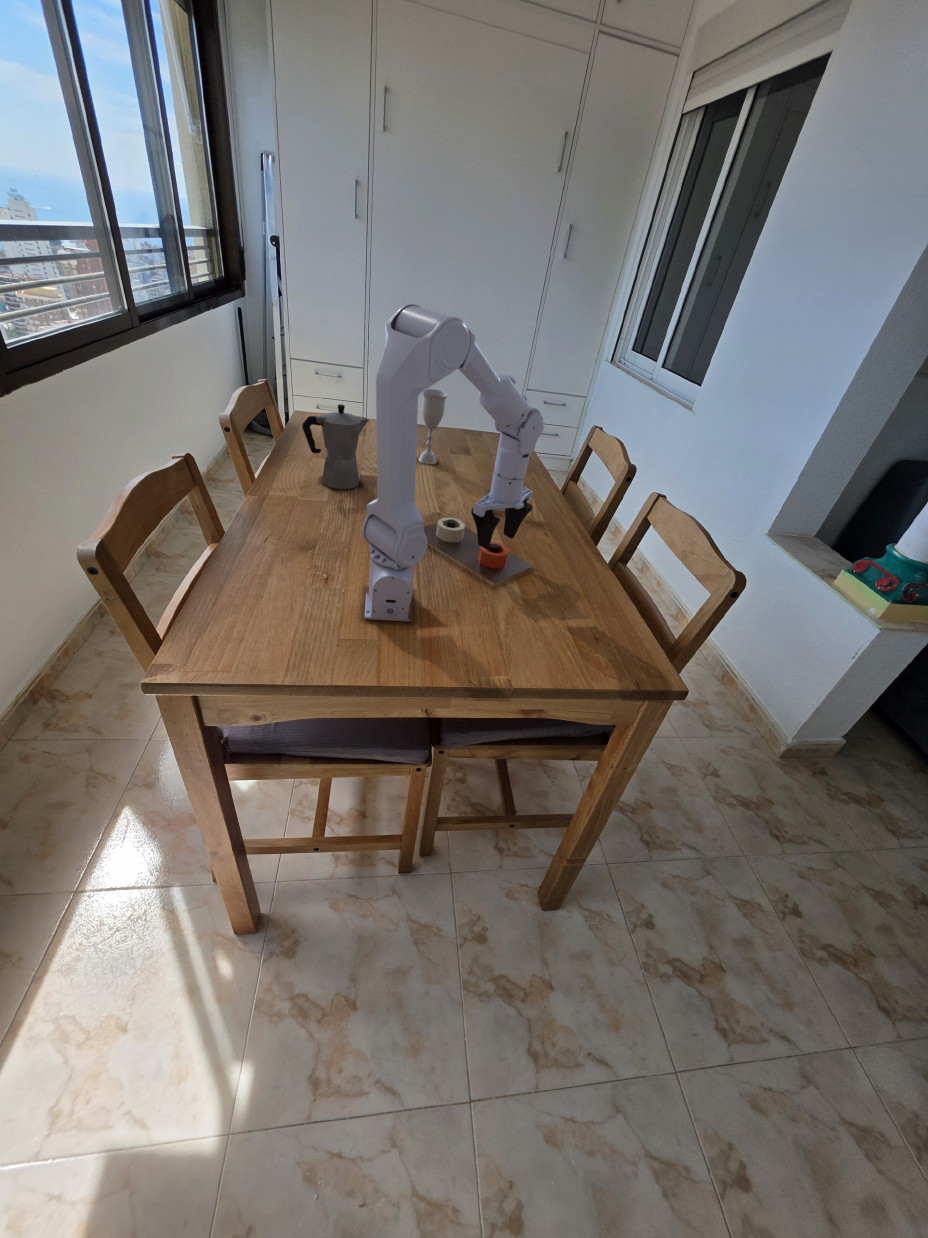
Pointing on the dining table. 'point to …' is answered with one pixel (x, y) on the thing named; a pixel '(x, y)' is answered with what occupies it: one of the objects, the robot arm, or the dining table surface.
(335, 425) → the coffeepot
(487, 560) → the red ring
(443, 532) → the cream ring
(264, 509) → the dining table surface
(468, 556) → the ring board
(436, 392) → the chalice
